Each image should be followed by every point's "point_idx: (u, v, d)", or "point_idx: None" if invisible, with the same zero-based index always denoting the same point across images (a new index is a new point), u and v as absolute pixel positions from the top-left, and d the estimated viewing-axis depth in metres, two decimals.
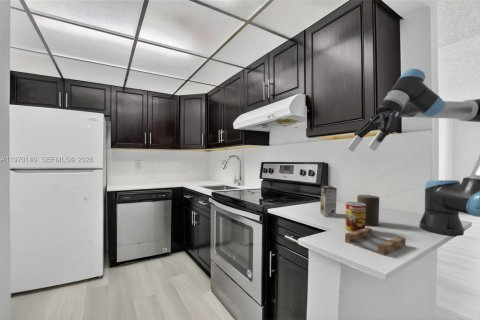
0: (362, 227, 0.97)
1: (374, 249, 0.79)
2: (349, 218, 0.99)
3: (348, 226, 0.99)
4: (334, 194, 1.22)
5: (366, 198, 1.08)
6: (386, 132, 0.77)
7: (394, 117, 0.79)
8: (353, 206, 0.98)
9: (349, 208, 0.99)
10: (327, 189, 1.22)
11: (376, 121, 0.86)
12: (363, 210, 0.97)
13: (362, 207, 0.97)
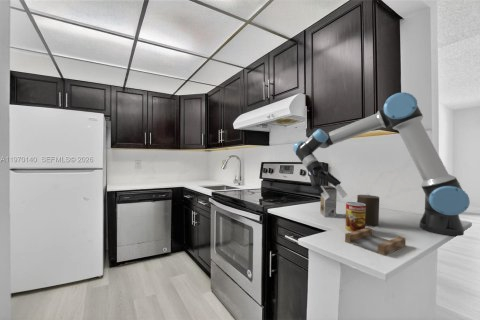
0: (362, 227, 0.97)
1: (374, 249, 0.79)
2: (349, 218, 0.99)
3: (348, 226, 0.99)
4: (334, 194, 1.22)
5: (366, 198, 1.08)
6: (316, 187, 1.08)
7: (310, 176, 1.13)
8: (353, 206, 0.98)
9: (349, 208, 0.99)
10: (327, 189, 1.22)
11: None
12: (363, 210, 0.97)
13: (362, 207, 0.97)
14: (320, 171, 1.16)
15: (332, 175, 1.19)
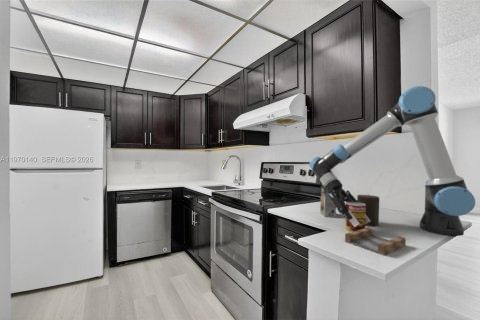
0: (362, 227, 0.97)
1: (374, 249, 0.79)
2: None
3: (348, 226, 1.00)
4: None
5: (366, 198, 1.08)
6: (344, 212, 0.99)
7: (333, 199, 1.03)
8: (353, 206, 0.98)
9: (349, 208, 0.99)
10: None
11: None
12: (363, 210, 0.97)
13: (362, 207, 0.97)
14: (340, 191, 1.06)
15: (353, 197, 1.08)
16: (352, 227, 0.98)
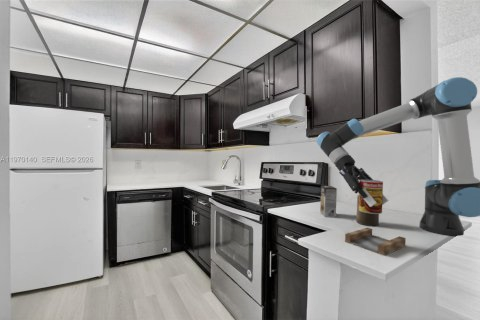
0: (379, 207, 0.84)
1: (374, 249, 0.79)
2: None
3: (362, 206, 0.86)
4: (334, 194, 1.22)
5: None
6: (357, 190, 0.85)
7: (345, 176, 0.89)
8: (368, 183, 0.84)
9: (363, 185, 0.86)
10: (327, 189, 1.22)
11: None
12: (380, 187, 0.83)
13: (379, 183, 0.83)
14: (353, 167, 0.93)
15: (368, 175, 0.95)
16: (367, 207, 0.84)
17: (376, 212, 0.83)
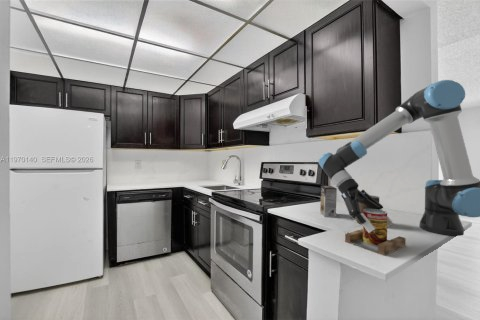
0: (384, 239, 0.81)
1: (374, 249, 0.79)
2: None
3: (366, 238, 0.84)
4: (334, 194, 1.22)
5: None
6: (355, 215, 0.82)
7: (346, 199, 0.87)
8: (372, 214, 0.82)
9: (367, 216, 0.84)
10: (327, 189, 1.22)
11: None
12: (384, 219, 0.81)
13: (384, 215, 0.81)
14: (357, 192, 0.90)
15: None
16: (372, 239, 0.82)
17: None
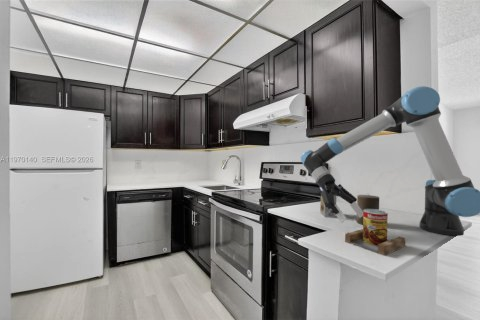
0: (384, 239, 0.81)
1: (374, 249, 0.79)
2: (367, 229, 0.84)
3: (366, 238, 0.84)
4: None
5: (366, 198, 1.08)
6: (330, 206, 0.91)
7: (322, 192, 0.96)
8: (373, 214, 0.82)
9: (367, 216, 0.84)
10: None
11: None
12: (384, 219, 0.81)
13: (384, 215, 0.81)
14: (333, 186, 0.99)
15: (346, 190, 1.03)
16: (372, 239, 0.82)
17: None
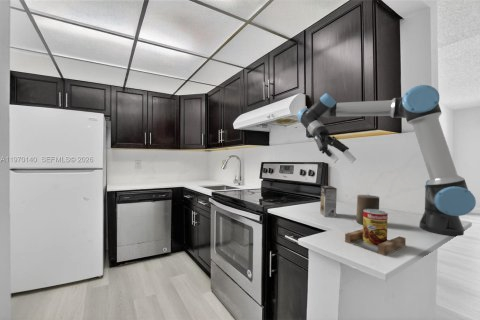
0: (384, 239, 0.81)
1: (374, 249, 0.79)
2: (367, 229, 0.84)
3: (366, 238, 0.84)
4: (334, 194, 1.22)
5: (366, 198, 1.08)
6: (324, 150, 1.01)
7: (317, 140, 1.06)
8: (373, 214, 0.82)
9: (367, 216, 0.84)
10: (327, 189, 1.22)
11: None
12: (384, 219, 0.81)
13: (384, 215, 0.81)
14: (327, 136, 1.09)
15: (339, 141, 1.12)
16: (372, 239, 0.82)
17: None
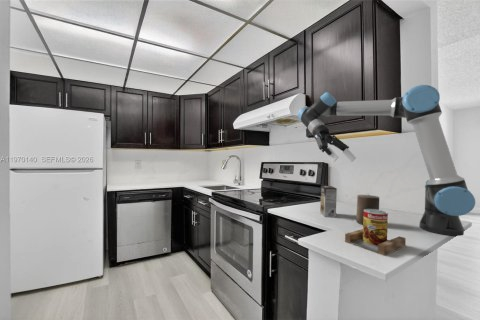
0: (384, 239, 0.81)
1: (374, 249, 0.79)
2: (367, 229, 0.84)
3: (366, 238, 0.84)
4: (334, 194, 1.22)
5: (366, 198, 1.08)
6: (324, 148, 1.01)
7: (317, 139, 1.06)
8: (373, 214, 0.82)
9: (367, 216, 0.84)
10: (327, 189, 1.22)
11: None
12: (384, 219, 0.81)
13: (384, 215, 0.81)
14: (327, 135, 1.09)
15: None
16: (372, 239, 0.82)
17: None
